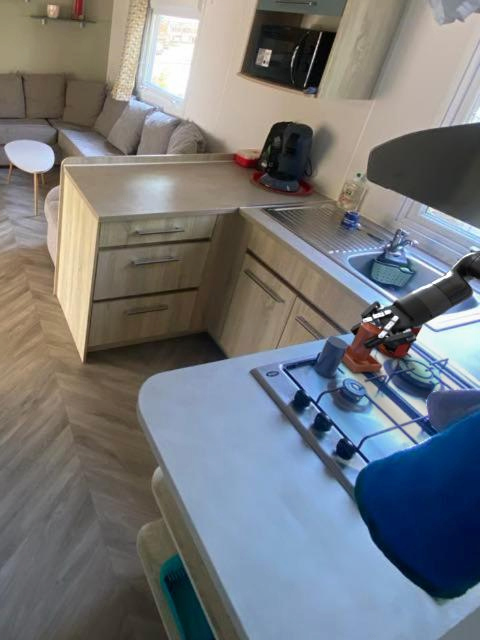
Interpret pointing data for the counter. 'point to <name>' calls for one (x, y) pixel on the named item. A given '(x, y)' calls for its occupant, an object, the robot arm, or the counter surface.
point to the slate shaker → (331, 356)
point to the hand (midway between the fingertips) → (358, 339)
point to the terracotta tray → (361, 363)
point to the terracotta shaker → (362, 335)
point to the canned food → (398, 350)
